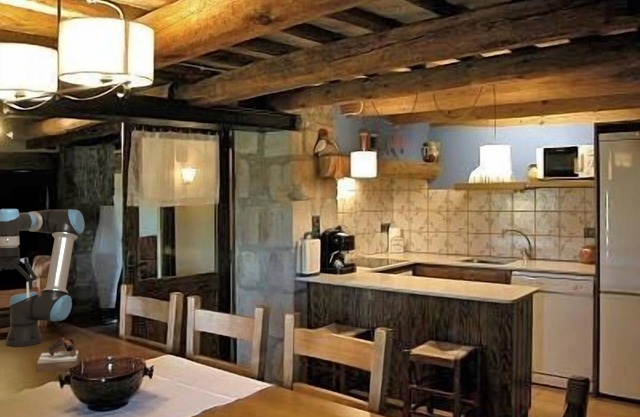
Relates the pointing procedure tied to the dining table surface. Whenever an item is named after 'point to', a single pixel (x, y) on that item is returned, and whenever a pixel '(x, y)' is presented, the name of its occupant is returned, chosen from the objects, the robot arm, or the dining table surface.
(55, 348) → the brown black arched figure
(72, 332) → the dining table surface
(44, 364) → the pale flat block
